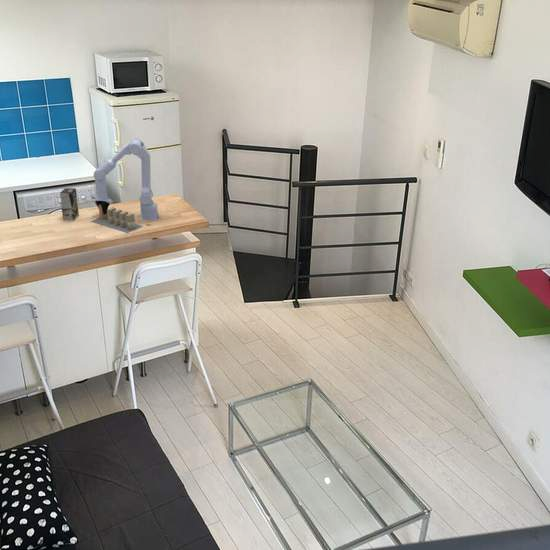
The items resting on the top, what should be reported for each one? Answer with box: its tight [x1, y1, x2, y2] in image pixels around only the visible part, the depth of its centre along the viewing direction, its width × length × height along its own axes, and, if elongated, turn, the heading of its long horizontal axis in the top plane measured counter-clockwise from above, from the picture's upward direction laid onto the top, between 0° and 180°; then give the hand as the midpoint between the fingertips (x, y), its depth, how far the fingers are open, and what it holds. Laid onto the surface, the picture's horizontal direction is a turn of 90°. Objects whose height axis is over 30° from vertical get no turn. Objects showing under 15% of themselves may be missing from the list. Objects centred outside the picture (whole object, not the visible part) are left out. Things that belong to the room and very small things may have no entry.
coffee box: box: [59, 187, 80, 222], centre depth 342 cm, size 9×6×16 cm
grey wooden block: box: [113, 209, 123, 226], centre depth 336 cm, size 2×4×8 cm, turn 147°
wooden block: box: [119, 210, 129, 228], centre depth 334 cm, size 2×4×8 cm, turn 147°
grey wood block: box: [107, 206, 117, 224], centre depth 339 cm, size 2×4×8 cm, turn 147°
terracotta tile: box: [98, 204, 108, 219], centre depth 345 cm, size 2×4×8 cm, turn 147°
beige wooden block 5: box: [126, 212, 136, 230], centre depth 332 cm, size 2×4×8 cm, turn 147°
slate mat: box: [90, 217, 144, 234], centre depth 339 cm, size 28×12×1 cm, turn 57°
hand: (103, 213), depth 346 cm, fingers closed on terracotta tile, 2 cm apart
